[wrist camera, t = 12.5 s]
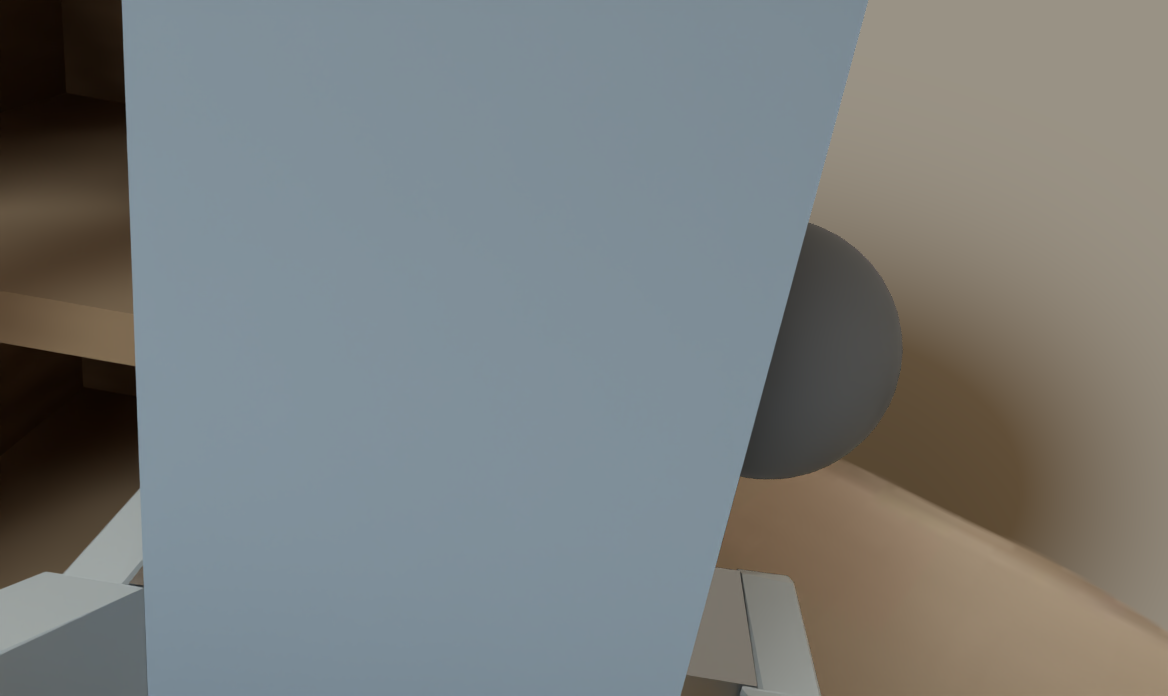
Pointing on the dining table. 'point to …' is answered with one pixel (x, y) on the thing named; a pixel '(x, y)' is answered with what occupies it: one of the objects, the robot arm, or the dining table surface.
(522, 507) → the door
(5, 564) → the cabinet
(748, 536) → the dining table surface
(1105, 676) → the dining table surface
